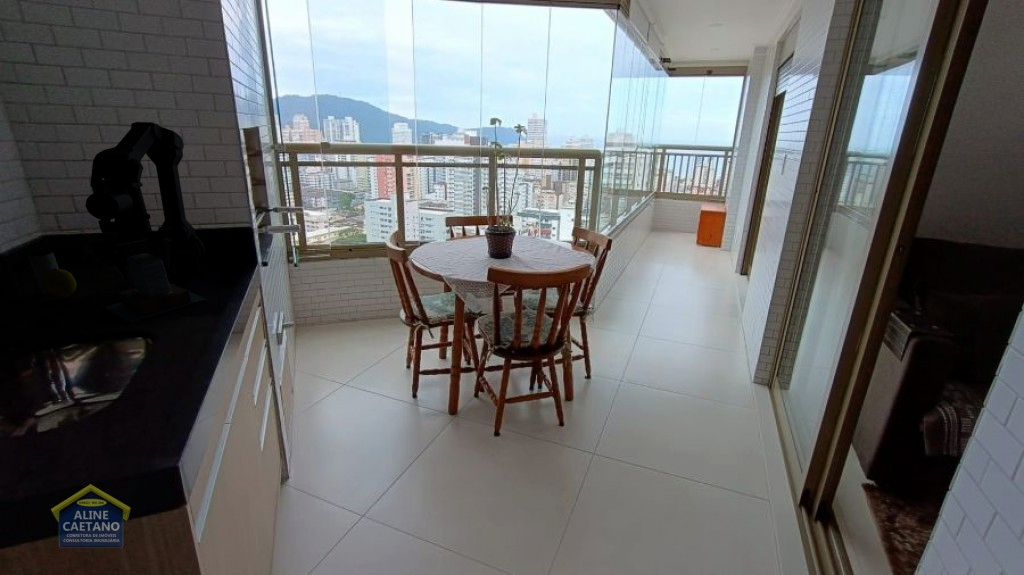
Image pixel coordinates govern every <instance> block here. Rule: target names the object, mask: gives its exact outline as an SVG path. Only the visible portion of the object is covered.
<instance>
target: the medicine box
mask: <svg viewBox="0 0 1024 575" xmlns="http://www.w3.org/2000/svg"><path fill="white" fill-rule="evenodd" d="M126 262H127V265H128V268H129V271H130V274H131V275H130V276H131V277H132V281H133V284H134V286H135V288H136V290H138V291H140V292H142V293H144V294H147V295H149V296H151V297H154V296H158V295H161V294H165V293H168V292H170V291H171V289H170V286H169V282H170V281H169V280H168V276H167V273H166V268H165V266H164V262H163V259H162V258H160V257H158V256H155V255H152V254H150V253H148V252H147V253H145V252H144V253H139V254H135V255H131V256H128V257H126Z"/></svg>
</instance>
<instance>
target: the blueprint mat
mask: <svg viewBox="0 0 1024 575" xmlns="http://www.w3.org/2000/svg"><path fill="white" fill-rule="evenodd" d="M189 295H190V299H191V302H192V303H193V302H199V301H203V300H207V298H205V297H203V296H201V295H198V294H195V293H194V292H191V291H189ZM191 302H190V303H191ZM190 303H189V304H190ZM104 308H105V309H106V310H108V312H111V313H113V314H114V315H116V316H117V317H119V316H120V318H121V317H122V318H121V319H123V318H124V319H125V320H124V319H123V320H124V321H126V320H127V321H126V322H128V321H129V322H128V323H130V322H131V323H132V322H135V321H138V320H140V319H143V318H145V317H144V315H142V314H140V313H138V312H136V311H135V310H133V309H131V308H129V307H127V306H125V305H124V304H122V302H118V303H114V304H111V305H106V306H105V307H104ZM142 316H143V317H142ZM131 323H130V324H131Z"/></svg>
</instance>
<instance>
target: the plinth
mask: <svg viewBox="0 0 1024 575" xmlns="http://www.w3.org/2000/svg"><path fill="white" fill-rule="evenodd" d="M168 282H169V286H170V289H171V291H170V292H168V293H165V294H161V295H158V296H154V297H151V296H149V295H147V294H144V293H142V292H140V291H138V290H136V288H134V287H133V288H130V289H126V290H122V291H119V292H118V295H119V298H120V301H121V302H122V304H124V305H125V306H127V307H129V308H131V309H133V310H135V311H136V312H138V313H140V314H142V315H144V316H146V315H149V314H152V313H155V312H159V311H161V310H165V309H168V308H171V307H175V306H178V305H182V304H186V303H190V302H191V299H190V295H189V292H190V291H189V290H187V289H185V288H183V287H181V286H178V285H176V284H174V283H171V282H170V281H168ZM121 302H120V303H121Z"/></svg>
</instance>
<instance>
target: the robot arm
mask: <svg viewBox="0 0 1024 575" xmlns="http://www.w3.org/2000/svg"><path fill="white" fill-rule="evenodd" d="M184 147H185V144H184V140H183V138H182V136H181V135H179V134H178V133H177V132H175V131H174V130H171V129H170V128H166V127H163V126H161V125H160V124H158V123H155V122H153V121H149V122H148V121H135V122H132V123H131V125H130V129H129V130H128V131H127V132H126V134H125V135H124V136H123V138H122V139H121V140H120V141H119V142H118V144H117V145H115V146H114V147H111V148H106V149H103V150H101V151H99V152H98V153H96V154H95V156H94V158H93V160H92V166H91V176H90V177H91V178H90V187H91V189H92V192H93V193H92V194H90V195H88V197H87V198H86V200H85V205H84V206H85V209H86V211H87V212H88V214H90V216H92V217H94V218H95V219H98V226H99V229H100V231H101V234H102V235H109V234H112V236H113V237H114V238H116V239H111V238H108V237H105V236H102V237H95V238H90V239H85V240H84V241H83V249H84V251H85V253H86V254H89V255H91V256H93V257H99V258H101V259H102V260H107V261H108V262H109V263H110V264H111V266H112V267H113V268H114V269H115V270H116V271H117V273H118V274H119V275H120V276H121V278H122V279H123V280H124V281H128V273H127V271H126V268H125V265H124V261H123V259H122V256H121V254H120V253H118V252H116V251H117V250H118V249H119V248H124V247H127V246H133V245H139V244H143V243H149V242H155V241H158V244H159V247H160V250H161V251H162V253H163V256H164V259H165V264H166V266H167V269H169V270H171V271H172V275H173V276H175V277H177V278H180V279H182V280H185V279H186V280H187V279H189V278H193V277H197V276H202V275H205V274H207V273H208V271H207V270H204V264H203V261H202V256H201V255H204V254H206V251H205V249H206V247H205V243H204V242H203V241H202V240H201V238H200V237H199V236H198V235H197V234H196V231H195V227H193V225H192V224H191V223H190V222H189V221H188V219H187V217H186V212H185V204H184V198H183V192H182V186H181V178H180V174H179V165H180V162H181V161H182V159H183V157H184V152H183V150H184ZM145 155H146V156H147V157H148V158H149V160H151V161H152V163H153V164H154V165H155V169H156V175H157V183H158V187H159V193H160V198H161V207H162V212H163V217H164V221H163V222H162V224H161V226H159V227H158V228H157V231H153V230H152V229H153V228H152V225H151V221H150V220H151V217H152V216H151V214H149V213H148V210H147V206H146V203H145V199H144V196H143V195H144V194H143V192H142V187H144V186H143V185H144V184H143V183H142V182H141V181H142V180H141V179H142V174H143V171H144V166H143V163H142V159H143V158H144V156H145ZM113 219H114V220H113ZM112 220H113V221H112ZM118 237H119V238H118Z"/></svg>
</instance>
